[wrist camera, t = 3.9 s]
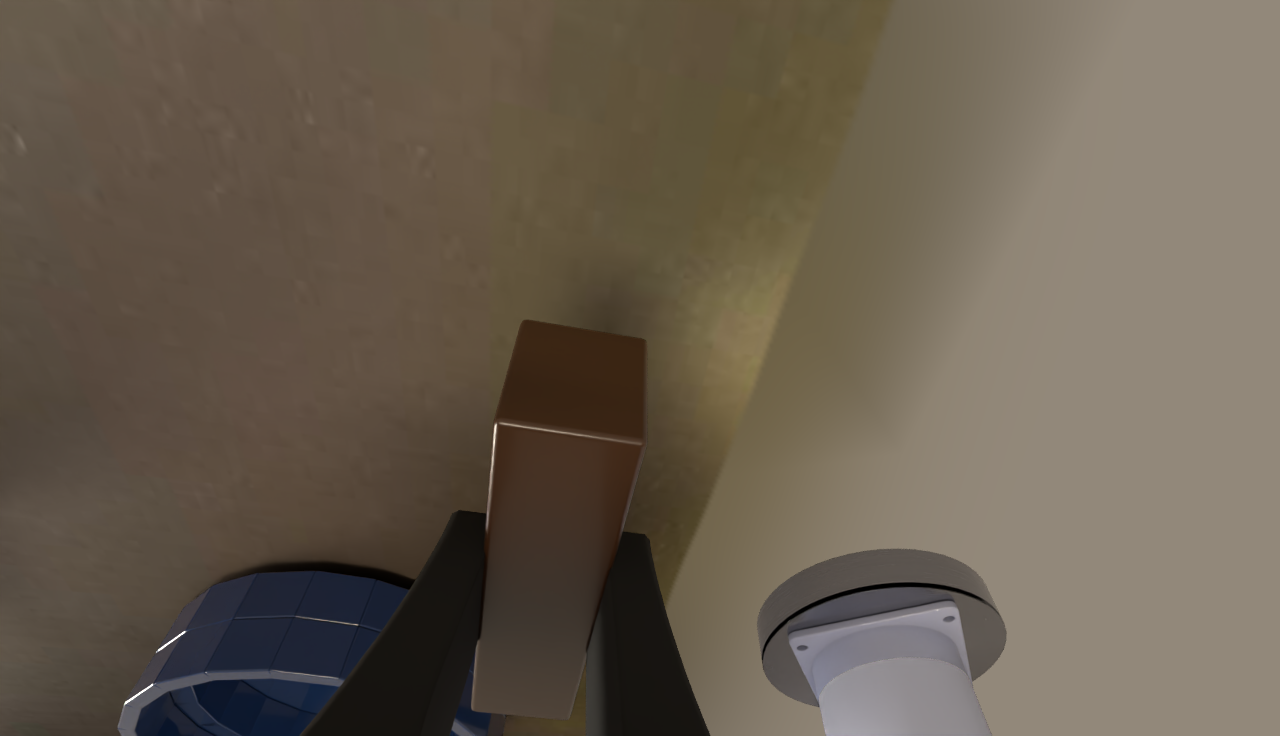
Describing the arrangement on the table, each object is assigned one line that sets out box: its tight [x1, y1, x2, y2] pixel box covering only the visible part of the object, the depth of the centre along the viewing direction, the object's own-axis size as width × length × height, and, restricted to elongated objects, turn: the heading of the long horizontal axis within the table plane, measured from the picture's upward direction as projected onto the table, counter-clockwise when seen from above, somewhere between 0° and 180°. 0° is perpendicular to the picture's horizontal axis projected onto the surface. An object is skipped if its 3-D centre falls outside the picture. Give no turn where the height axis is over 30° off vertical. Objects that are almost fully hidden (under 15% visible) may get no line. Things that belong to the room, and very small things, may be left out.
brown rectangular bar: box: [471, 320, 648, 720], centre depth 12 cm, size 8×2×2 cm, turn 169°
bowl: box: [118, 571, 506, 736], centre depth 28 cm, size 14×14×4 cm
